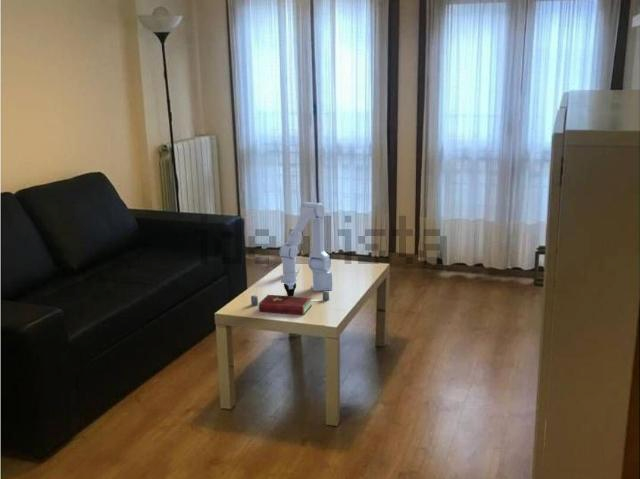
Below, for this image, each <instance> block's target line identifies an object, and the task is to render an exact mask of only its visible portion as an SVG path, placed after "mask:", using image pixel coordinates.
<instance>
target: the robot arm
mask: <svg viewBox="0 0 640 479" xmlns="http://www.w3.org/2000/svg"><path fill="white" fill-rule="evenodd" d="M324 219H325V206H324V205H323V204H322V203H321V202H309V201H303V202H301V204H300V208H299V216H298V219H297V222H296V224H295V228H294V230H291V231H290V232H289V235H288V237H287V239H286V242H285V243H284V244H283V245H282V246H280V248H279V252H278V253H279V256H280V259H281V260H280V261H282V277H283V279H281V280H280V283H282V284H283V287H284V290H285V291H286V292H285V293H286V296H294V295H295V289H296V288H297V276H296V270H295V267H296V262H295V257H297V256H298V250H299V245H300V242H301V240H302V238H303V235H302V234H303V233H302V232H303V230H304V229H305V227H306V225H307V224H308V222H309V221H310V220H311V221H312V246H313V247H312V248H313V250H312V251H313V252H311V253H310V254H309V258H308V264H307V265H308V267H309V269H310V271H311V272H312V284H311V289H312V291H313V292H319V291H332V290H333V274H332V270H331V269H330V268H331V267H332V263H331V260H330V259H331V258H330V254H328V252H326V251H325V226H324V224H325V222H324V221H325V220H324Z"/></svg>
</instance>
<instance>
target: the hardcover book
mask: <svg viewBox="0 0 640 479" xmlns="http://www.w3.org/2000/svg"><path fill="white" fill-rule="evenodd" d="M311 300H313V299H312V297H311V296H310V297H306V296H287V295H279V294H277V295H276V294H267V295H266V296H265V297H264V298H263V299H261V301H260V302H258V304H259V305H258V311H259V313H260V312H261V313H274V314H288V315H289V314H290V315H302V316H305V315H306V313H307V312H308V311H309V310H310V309H311V307H312V306H313V305H312V301H311Z"/></svg>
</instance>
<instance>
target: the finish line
mask: <svg viewBox="0 0 640 479" xmlns="http://www.w3.org/2000/svg"><path fill="white" fill-rule="evenodd" d="M321 291H322V298H321V299H320V298H319V299H311V302H325V301H326V302H328V301H330V290H321ZM258 298H259V297H258V295H251V296H250V302H251V303H250V304H251V306H252V305H253V306H252V307H257V306H259V301H258V300H259V299H258Z"/></svg>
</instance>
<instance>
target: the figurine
mask: <svg viewBox="0 0 640 479" xmlns="http://www.w3.org/2000/svg"><path fill="white" fill-rule="evenodd" d="M296 257H297V256H296ZM296 257H295V263H296V261H297V260H296ZM295 270H296V277H297V276H298V274H299V272H300V270H301V267H296V266H295Z"/></svg>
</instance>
